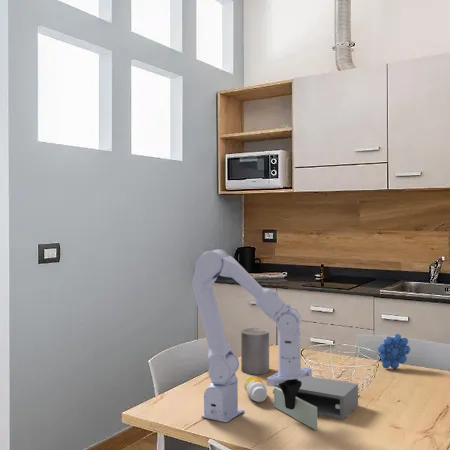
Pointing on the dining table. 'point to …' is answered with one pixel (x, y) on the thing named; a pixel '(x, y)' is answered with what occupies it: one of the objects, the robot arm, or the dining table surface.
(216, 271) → the robot arm
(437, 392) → the dining table surface
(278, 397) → the door
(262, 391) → the supplement bottle
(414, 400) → the dining table surface
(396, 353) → the blue flower shape
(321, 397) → the cabinet
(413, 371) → the dining table surface
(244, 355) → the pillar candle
